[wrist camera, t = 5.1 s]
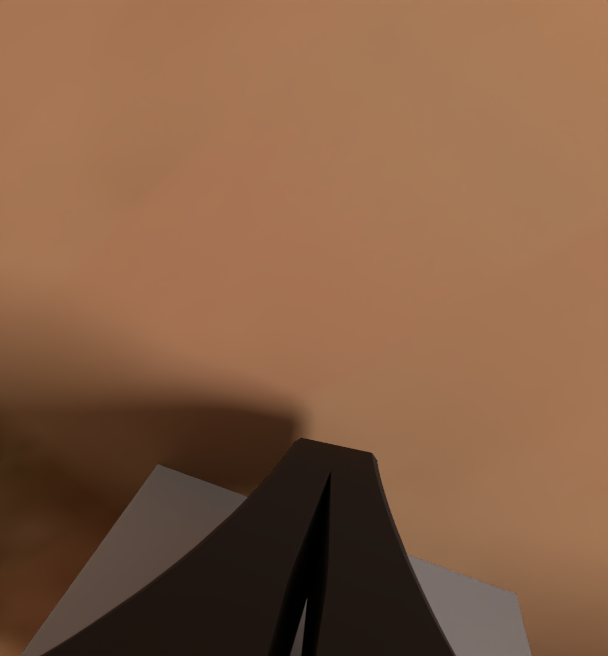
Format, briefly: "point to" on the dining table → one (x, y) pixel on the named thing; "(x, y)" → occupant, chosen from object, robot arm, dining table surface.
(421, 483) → the dining table surface
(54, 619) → the block
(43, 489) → the dining table surface
